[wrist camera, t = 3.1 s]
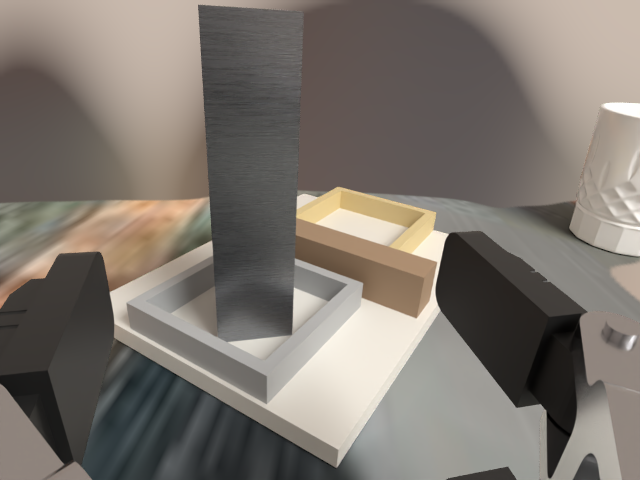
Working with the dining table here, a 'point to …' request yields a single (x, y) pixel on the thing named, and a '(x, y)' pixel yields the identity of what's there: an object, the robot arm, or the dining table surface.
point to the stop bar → (252, 163)
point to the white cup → (611, 183)
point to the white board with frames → (302, 320)
